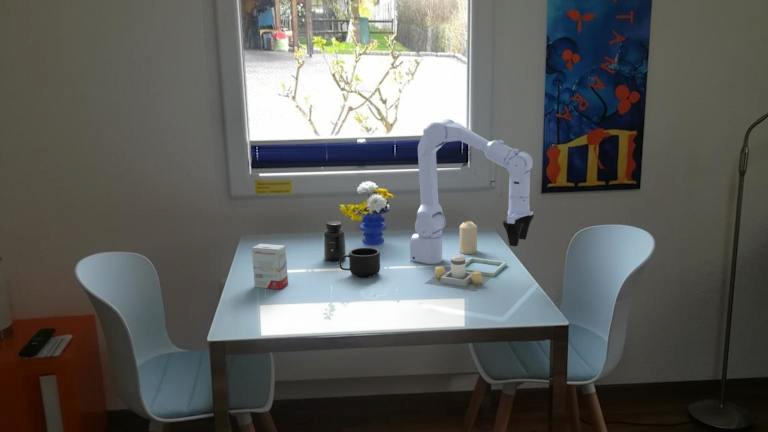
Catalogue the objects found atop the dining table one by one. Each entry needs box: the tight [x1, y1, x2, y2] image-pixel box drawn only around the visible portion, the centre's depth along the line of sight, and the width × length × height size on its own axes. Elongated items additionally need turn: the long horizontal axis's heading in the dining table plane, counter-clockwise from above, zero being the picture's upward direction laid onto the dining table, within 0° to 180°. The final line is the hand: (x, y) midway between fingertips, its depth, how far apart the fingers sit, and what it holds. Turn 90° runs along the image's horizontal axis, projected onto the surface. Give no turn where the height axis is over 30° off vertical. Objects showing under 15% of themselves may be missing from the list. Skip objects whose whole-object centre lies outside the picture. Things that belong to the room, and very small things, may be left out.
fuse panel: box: [425, 265, 491, 292], centre depth 199 cm, size 15×12×4 cm
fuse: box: [450, 254, 467, 280], centre depth 199 cm, size 4×4×7 cm
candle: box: [459, 220, 478, 255], centre depth 228 cm, size 6×6×10 cm
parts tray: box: [465, 257, 508, 278], centre depth 210 cm, size 12×12×2 cm
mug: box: [338, 247, 381, 279], centre depth 208 cm, size 12×9×7 cm
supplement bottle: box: [322, 220, 347, 263], centre depth 223 cm, size 7×7×12 cm
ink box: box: [251, 243, 289, 290], centre depth 200 cm, size 9×5×12 cm, turn 71°
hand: (517, 242), depth 203 cm, fingers open, 7 cm apart
